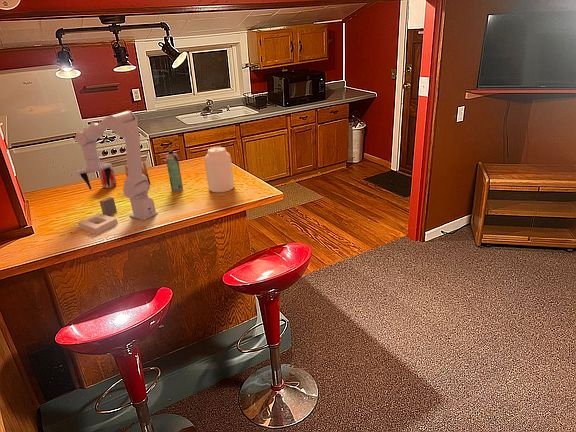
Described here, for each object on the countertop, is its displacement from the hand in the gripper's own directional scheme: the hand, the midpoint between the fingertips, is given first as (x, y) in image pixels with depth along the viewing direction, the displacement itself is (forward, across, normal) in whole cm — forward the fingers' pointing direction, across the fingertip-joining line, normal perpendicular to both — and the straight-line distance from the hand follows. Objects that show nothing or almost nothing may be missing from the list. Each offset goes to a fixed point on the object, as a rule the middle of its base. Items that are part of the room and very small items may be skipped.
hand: (99, 186), depth 191 cm
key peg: (+10, 0, +10) cm, 14 cm away
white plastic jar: (+10, -52, +13) cm, 55 cm away
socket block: (+10, +6, +20) cm, 23 cm away
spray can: (+10, -34, +1) cm, 35 cm away
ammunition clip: (+10, -20, -18) cm, 28 cm away
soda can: (+10, -7, -26) cm, 28 cm away
